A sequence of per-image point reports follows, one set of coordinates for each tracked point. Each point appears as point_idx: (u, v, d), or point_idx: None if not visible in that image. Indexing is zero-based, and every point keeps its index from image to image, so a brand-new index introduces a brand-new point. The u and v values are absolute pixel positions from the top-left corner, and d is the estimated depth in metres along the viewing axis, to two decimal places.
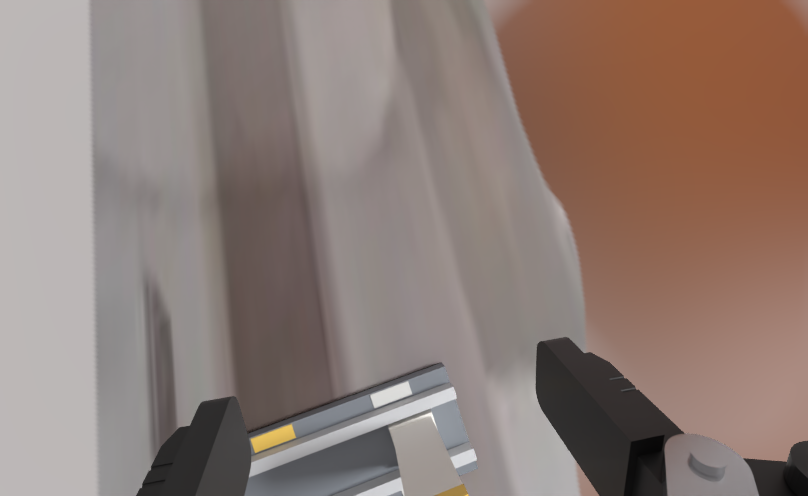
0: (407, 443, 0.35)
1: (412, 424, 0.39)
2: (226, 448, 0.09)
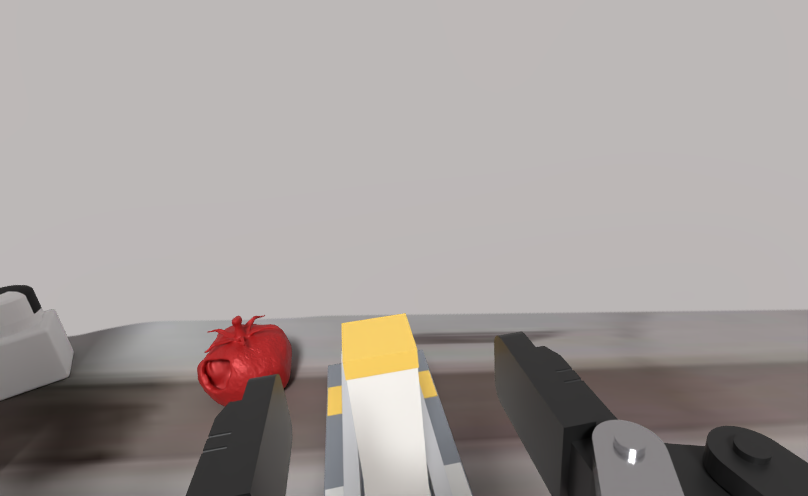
0: None
1: None
2: (275, 420, 0.10)
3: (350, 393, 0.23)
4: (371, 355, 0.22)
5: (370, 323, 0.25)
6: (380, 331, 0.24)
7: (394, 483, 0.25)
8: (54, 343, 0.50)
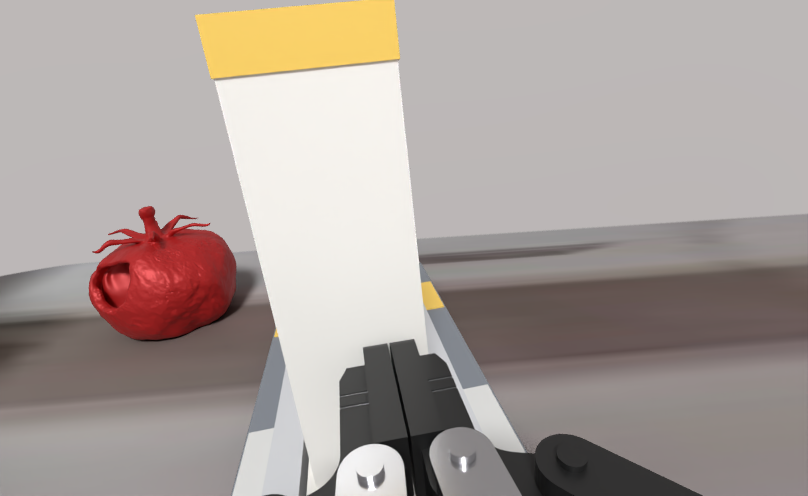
0: None
1: None
2: None
3: (229, 124, 0.09)
4: None
5: None
6: None
7: None
8: None
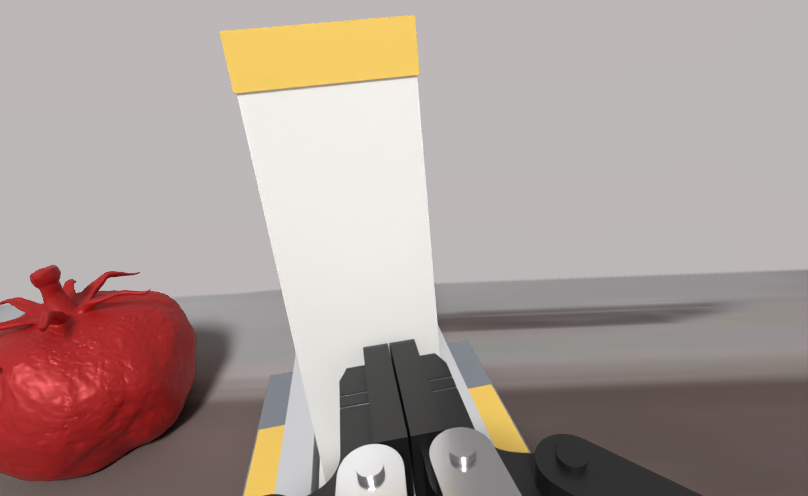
0: None
1: None
2: None
3: (250, 138, 0.09)
4: None
5: None
6: None
7: None
8: None
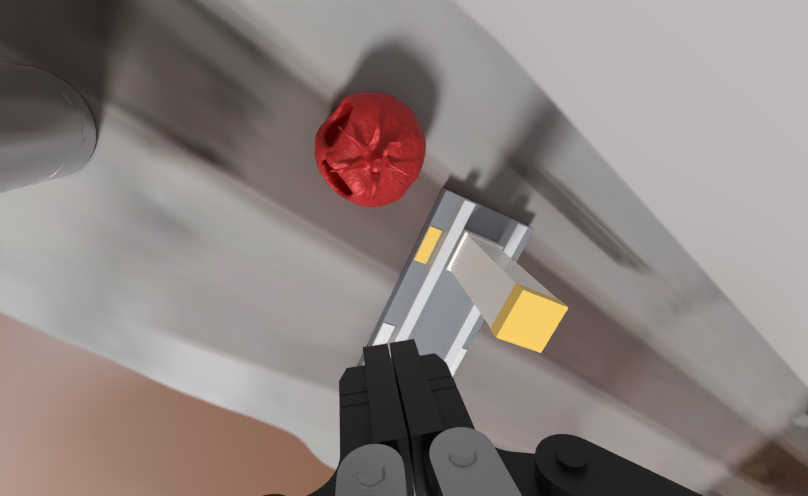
0: None
1: None
2: None
3: (487, 322, 0.32)
4: (514, 341, 0.30)
5: (539, 305, 0.29)
6: (537, 319, 0.30)
7: None
8: None
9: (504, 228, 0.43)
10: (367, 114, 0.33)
